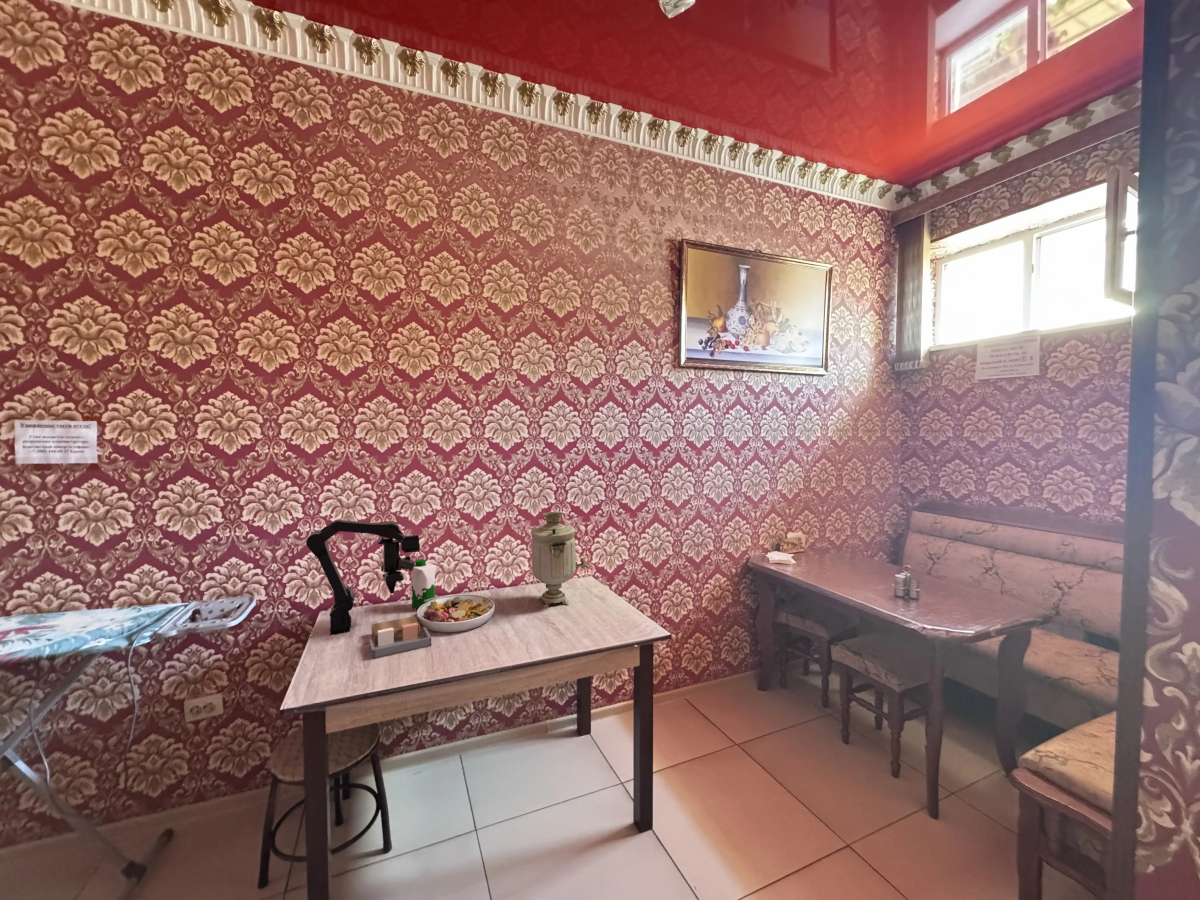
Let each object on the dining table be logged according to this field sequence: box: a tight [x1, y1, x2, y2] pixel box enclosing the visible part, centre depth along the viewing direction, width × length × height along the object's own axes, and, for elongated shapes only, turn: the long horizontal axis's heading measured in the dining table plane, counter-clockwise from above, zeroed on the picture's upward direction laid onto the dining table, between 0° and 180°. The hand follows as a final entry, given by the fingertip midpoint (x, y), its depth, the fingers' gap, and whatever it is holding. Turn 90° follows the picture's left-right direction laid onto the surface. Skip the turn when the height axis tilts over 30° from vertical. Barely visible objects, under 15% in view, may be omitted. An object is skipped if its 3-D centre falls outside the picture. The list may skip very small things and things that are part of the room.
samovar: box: [530, 511, 591, 609], centre depth 207 cm, size 30×26×40 cm
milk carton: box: [410, 558, 438, 610], centre depth 200 cm, size 9×9×20 cm
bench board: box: [371, 615, 421, 645], centre depth 174 cm, size 15×10×4 cm, turn 122°
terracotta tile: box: [402, 623, 418, 641], centre depth 170 cm, size 5×5×2 cm
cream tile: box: [378, 628, 394, 647], centre depth 166 cm, size 5×5×2 cm
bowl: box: [416, 593, 496, 633], centre depth 189 cm, size 30×30×8 cm
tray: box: [368, 627, 432, 660], centre depth 165 cm, size 19×10×3 cm, turn 122°
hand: (391, 593), depth 184 cm, fingers closed
